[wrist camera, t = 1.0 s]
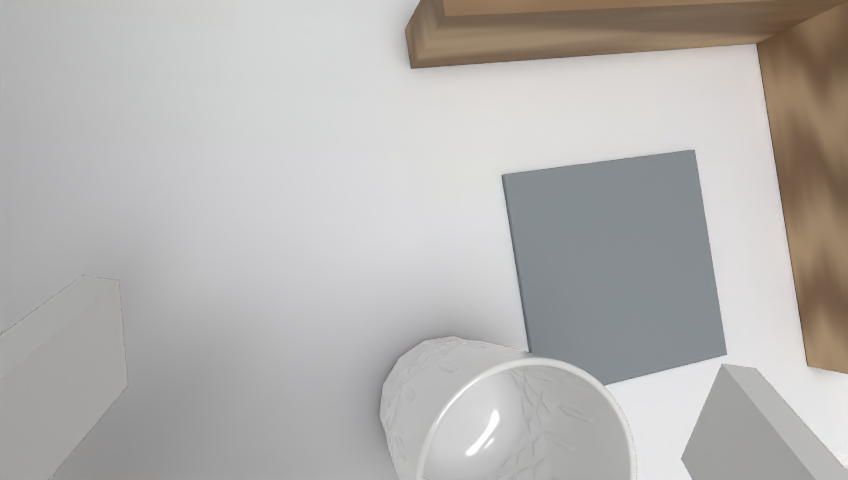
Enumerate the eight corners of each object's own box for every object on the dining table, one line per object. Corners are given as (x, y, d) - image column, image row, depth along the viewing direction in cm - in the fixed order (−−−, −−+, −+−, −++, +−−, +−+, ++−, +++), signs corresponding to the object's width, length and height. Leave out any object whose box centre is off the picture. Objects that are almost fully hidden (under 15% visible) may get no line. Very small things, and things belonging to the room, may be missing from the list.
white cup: (535, 351, 29) (664, 396, 19) (489, 499, 28) (600, 627, 18) (398, 303, 27) (462, 326, 17) (344, 460, 26) (379, 578, 16)
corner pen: (405, 29, 27) (437, -33, 22) (777, 9, 34) (881, -44, 28) (472, 456, 27) (523, 509, 22) (832, 359, 34) (947, 379, 28)
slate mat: (502, 175, 28) (504, 174, 28) (690, 150, 31) (694, 149, 31) (537, 400, 28) (539, 401, 28) (722, 353, 31) (726, 354, 31)
